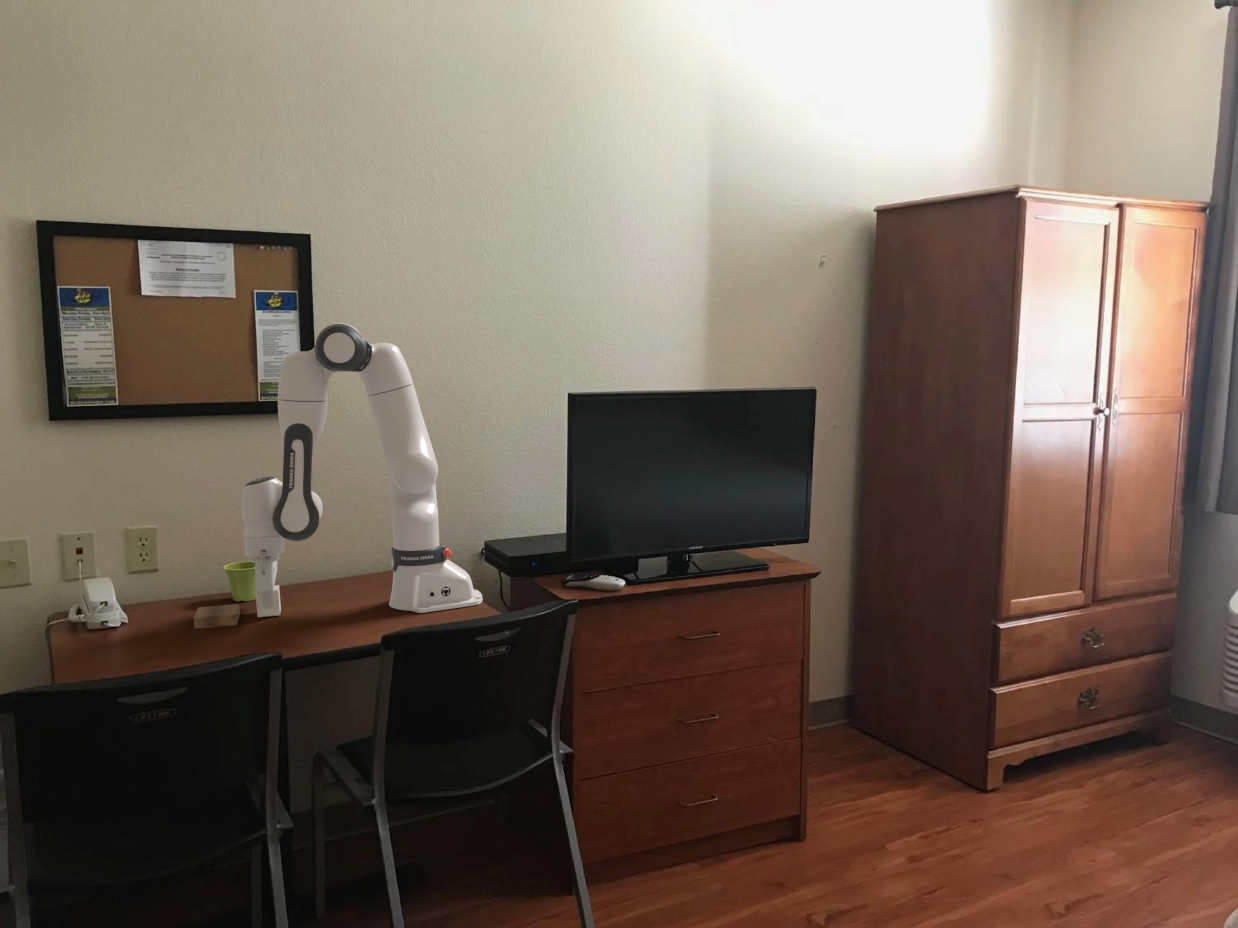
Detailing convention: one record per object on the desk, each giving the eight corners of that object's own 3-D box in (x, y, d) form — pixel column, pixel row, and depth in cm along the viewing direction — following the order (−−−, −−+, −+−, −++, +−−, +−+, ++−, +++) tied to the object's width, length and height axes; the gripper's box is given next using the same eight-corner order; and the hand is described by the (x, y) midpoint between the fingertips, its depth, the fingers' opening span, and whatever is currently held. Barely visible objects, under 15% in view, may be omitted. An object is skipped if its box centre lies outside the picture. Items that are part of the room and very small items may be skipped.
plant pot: (218, 599, 255) (216, 565, 253) (253, 592, 262) (251, 559, 260) (238, 606, 249) (235, 571, 247) (273, 597, 256) (270, 564, 254)
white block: (280, 609, 244) (279, 585, 243) (280, 614, 239) (278, 590, 238) (258, 611, 242) (256, 587, 241) (257, 617, 238) (255, 592, 237)
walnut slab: (239, 616, 241) (238, 603, 241) (236, 626, 233) (235, 613, 232) (199, 619, 239) (198, 607, 238) (194, 630, 230) (193, 617, 230)
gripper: (276, 554, 229) (281, 613, 231) (280, 536, 249) (284, 591, 251) (247, 556, 228) (251, 616, 230) (252, 539, 247) (257, 594, 249)
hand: (268, 603), depth 240 cm, fingers closed on white block, 5 cm apart
